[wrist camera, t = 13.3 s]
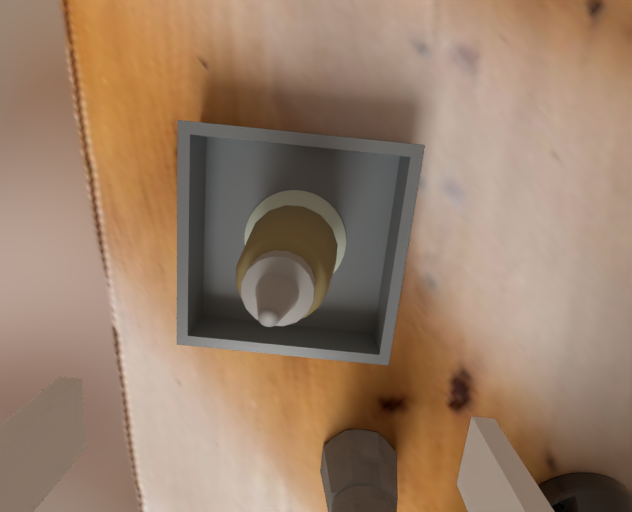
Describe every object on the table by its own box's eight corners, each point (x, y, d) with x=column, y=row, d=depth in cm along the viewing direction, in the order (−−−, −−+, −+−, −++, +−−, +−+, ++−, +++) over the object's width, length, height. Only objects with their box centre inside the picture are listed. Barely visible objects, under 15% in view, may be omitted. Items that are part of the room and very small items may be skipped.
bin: (380, 338, 41) (388, 365, 36) (195, 319, 41) (176, 344, 36) (410, 146, 36) (424, 145, 31) (199, 125, 36) (177, 120, 31)
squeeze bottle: (238, 226, 37) (161, 288, 20) (310, 184, 36) (296, 211, 18) (281, 294, 39) (245, 407, 21) (351, 256, 38) (373, 344, 20)
